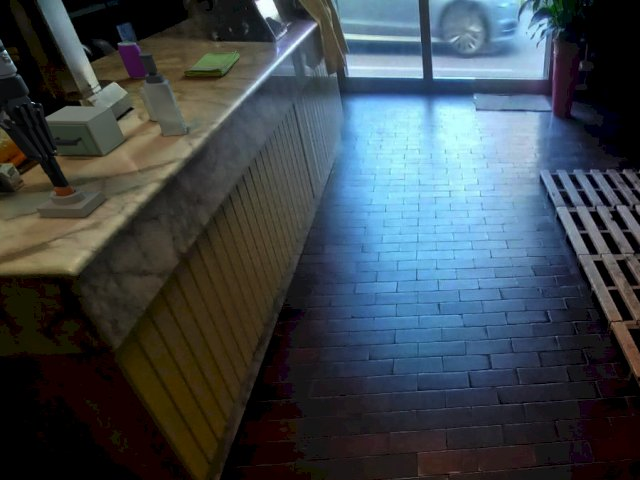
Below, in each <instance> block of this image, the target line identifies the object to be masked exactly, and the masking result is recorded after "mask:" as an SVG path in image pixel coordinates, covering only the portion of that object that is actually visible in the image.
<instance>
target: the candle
mask: <svg viewBox="0 0 640 480" xmlns="http://www.w3.org/2000/svg"><path fill="white" fill-rule="evenodd" d="M138 94H139V96H140V98H141V102H142V103H143V106H144V108H145V110H146V113H147V115H148V117H149V119H150V121H152V122H158V120H157V118H156V115H155V113H154V111H153V108H152V106H151V103H150V101H149V98H148V96H147V94H146V91H145V89H144V85H141V87H140V89H139V91H138Z"/></svg>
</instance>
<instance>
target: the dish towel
mask: <svg viewBox="0 0 640 480" xmlns="http://www.w3.org/2000/svg"><path fill="white" fill-rule="evenodd" d="M240 57H241V56H240V54H239V51H238V50H234V51H229V52H209V53H206V54H204V56H202V57H201V58H200V59H199V60H198V61H197V62H196V63H195V64H194V65H193V66H191V67H190V68H188V69H187V70H184V71H183V74H184V76H185V77H188V78H198V77H200V78H201V77H202V78H204V77H205V78H206V77H210V78H213V77H223V76H224V75H225V74H226V73H228V71H229V70H230V69H231V68H232V67H233V65H234V64H236V62H237V61H238V59H239V58H240Z"/></svg>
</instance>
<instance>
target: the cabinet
mask: <svg viewBox="0 0 640 480" xmlns="http://www.w3.org/2000/svg"><path fill="white" fill-rule="evenodd" d="M45 118H46V121H47V123H48V124H86V125H87V127H88V129H89V131H90V133H91V135H92V137H93V139H94V141H95V143H96V145H97V147H98V149H99V151H100V153H99V154H58V156H89V157H90V156H95V157H96V156H97V157H98V156H100V157H103V156H106V155H107V154H108V153H110V152H112V151H113V150H114V149H115V148H117V147H118V146H119V145H122V143H124V141H126V137H125V136H124V134H123V131H122V129H121V126H120V125H119V122H118V120H117V118H116V116H115V114H114V112H113V110H112V107H111V106H82V105H78V106H77V105H66V106H64V107H63V108H61V109H59V110H57V111H55V112H52V113H51V114H50V115H47V116H45Z"/></svg>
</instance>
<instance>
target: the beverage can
mask: <svg viewBox="0 0 640 480" xmlns="http://www.w3.org/2000/svg"><path fill="white" fill-rule="evenodd" d="M117 50H118V54H119V56H120V59H121V60H122V63H123V65H124V68H125V70H126V72H127V74H128V76H129V77H130V78H131V79H132V80H133V79H134V80H143V79H145V75H147V74H148V73H147V72H146V70H145V68H144V65H143V63H142V60H141V58H140V57H139V54H142V53H143V52H142V50H141V48H140V47H139V46H138V44H137V43H136V42H135V41H121V42H118V43H117Z"/></svg>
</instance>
